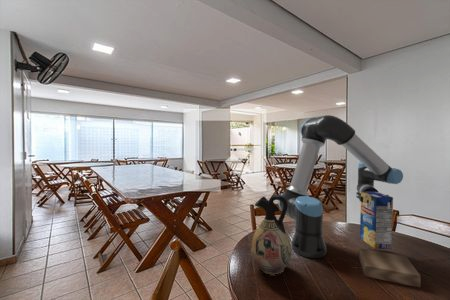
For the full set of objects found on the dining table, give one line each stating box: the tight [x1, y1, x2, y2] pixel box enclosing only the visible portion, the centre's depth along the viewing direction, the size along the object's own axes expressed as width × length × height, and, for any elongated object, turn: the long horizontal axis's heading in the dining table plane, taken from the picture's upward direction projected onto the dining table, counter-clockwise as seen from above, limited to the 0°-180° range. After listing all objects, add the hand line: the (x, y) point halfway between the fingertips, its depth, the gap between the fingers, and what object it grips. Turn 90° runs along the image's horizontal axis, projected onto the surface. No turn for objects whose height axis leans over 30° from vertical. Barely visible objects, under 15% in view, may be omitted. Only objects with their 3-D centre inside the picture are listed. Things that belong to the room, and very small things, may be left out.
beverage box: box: [359, 191, 394, 250], centre depth 96 cm, size 7×11×22 cm, turn 178°
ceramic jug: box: [250, 194, 292, 275], centre depth 84 cm, size 17×15×30 cm
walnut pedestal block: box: [358, 247, 422, 288], centre depth 83 cm, size 16×14×4 cm
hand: (380, 205), depth 91 cm, fingers closed on beverage box, 5 cm apart
